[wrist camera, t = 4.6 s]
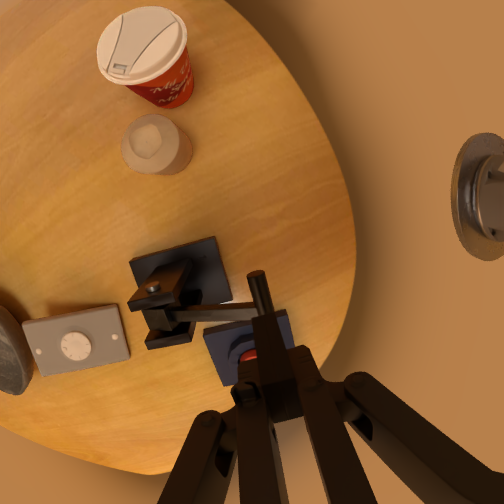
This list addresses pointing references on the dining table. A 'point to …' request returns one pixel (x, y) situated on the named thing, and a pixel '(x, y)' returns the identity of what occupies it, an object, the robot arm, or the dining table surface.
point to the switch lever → (213, 308)
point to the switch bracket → (179, 285)
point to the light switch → (77, 340)
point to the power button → (248, 355)
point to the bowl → (14, 355)
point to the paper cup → (148, 55)
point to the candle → (155, 146)
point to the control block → (238, 344)
